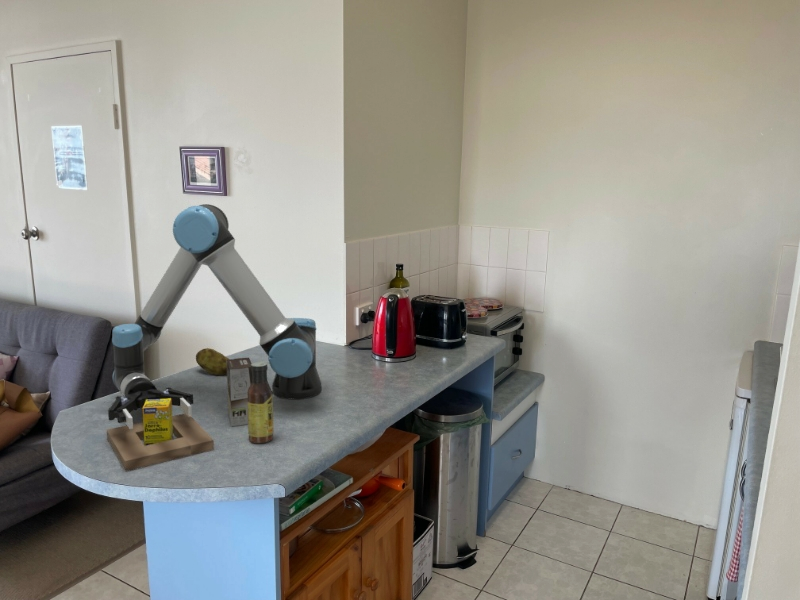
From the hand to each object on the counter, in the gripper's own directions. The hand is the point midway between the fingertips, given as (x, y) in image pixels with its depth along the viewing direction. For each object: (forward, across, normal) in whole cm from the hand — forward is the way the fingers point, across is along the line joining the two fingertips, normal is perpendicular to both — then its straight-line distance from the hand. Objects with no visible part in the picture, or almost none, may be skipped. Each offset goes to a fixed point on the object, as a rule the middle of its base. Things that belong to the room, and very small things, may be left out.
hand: (161, 417), depth 143 cm
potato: (-48, -30, -8) cm, 57 cm away
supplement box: (-3, 0, -8) cm, 9 cm away
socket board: (-3, 0, -8) cm, 9 cm away
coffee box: (-7, -23, -8) cm, 25 cm away
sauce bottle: (+8, -22, -8) cm, 25 cm away
